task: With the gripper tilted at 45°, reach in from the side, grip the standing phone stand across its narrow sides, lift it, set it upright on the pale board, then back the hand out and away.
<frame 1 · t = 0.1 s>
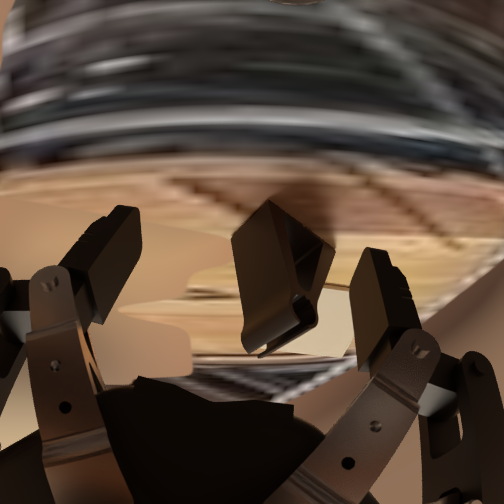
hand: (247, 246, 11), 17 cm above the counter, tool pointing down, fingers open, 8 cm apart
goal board: (306, 320, 41), on the counter
phone stand: (284, 241, 33), on the counter
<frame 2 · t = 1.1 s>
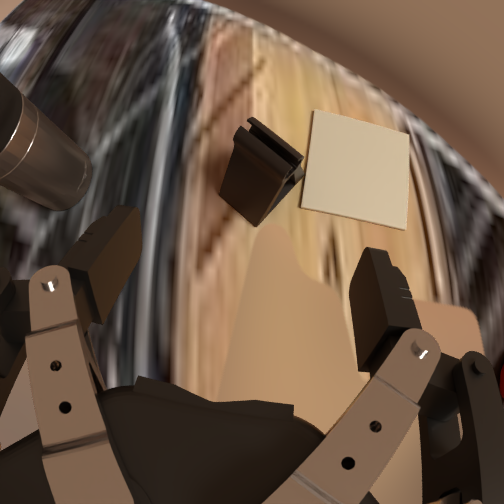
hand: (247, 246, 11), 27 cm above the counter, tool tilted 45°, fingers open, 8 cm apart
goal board: (360, 168, 40), on the counter
phone stand: (262, 185, 39), on the counter
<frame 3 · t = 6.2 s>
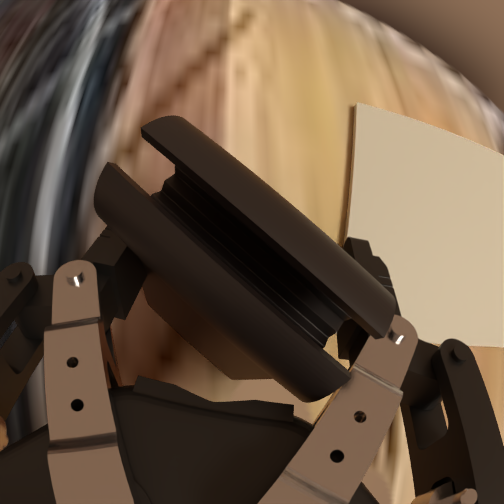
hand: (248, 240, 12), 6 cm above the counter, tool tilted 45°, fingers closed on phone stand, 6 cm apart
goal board: (447, 230, 18), on the counter
phone stand: (245, 279, 18), on the counter, touching gripper
when the fingers open (8 cm above the counter, at t = 12.1 s): phone stand drops 1 cm, resting on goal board.
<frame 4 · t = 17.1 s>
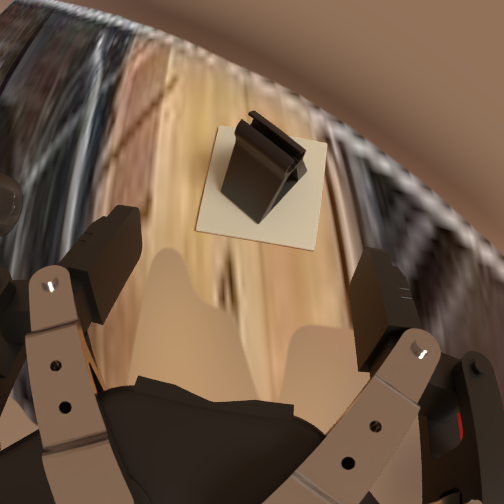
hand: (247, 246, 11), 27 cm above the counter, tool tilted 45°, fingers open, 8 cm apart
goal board: (264, 184, 39), on the counter
phone stand: (264, 182, 39), resting on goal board
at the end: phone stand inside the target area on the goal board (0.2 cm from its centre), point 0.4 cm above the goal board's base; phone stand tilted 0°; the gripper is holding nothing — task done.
